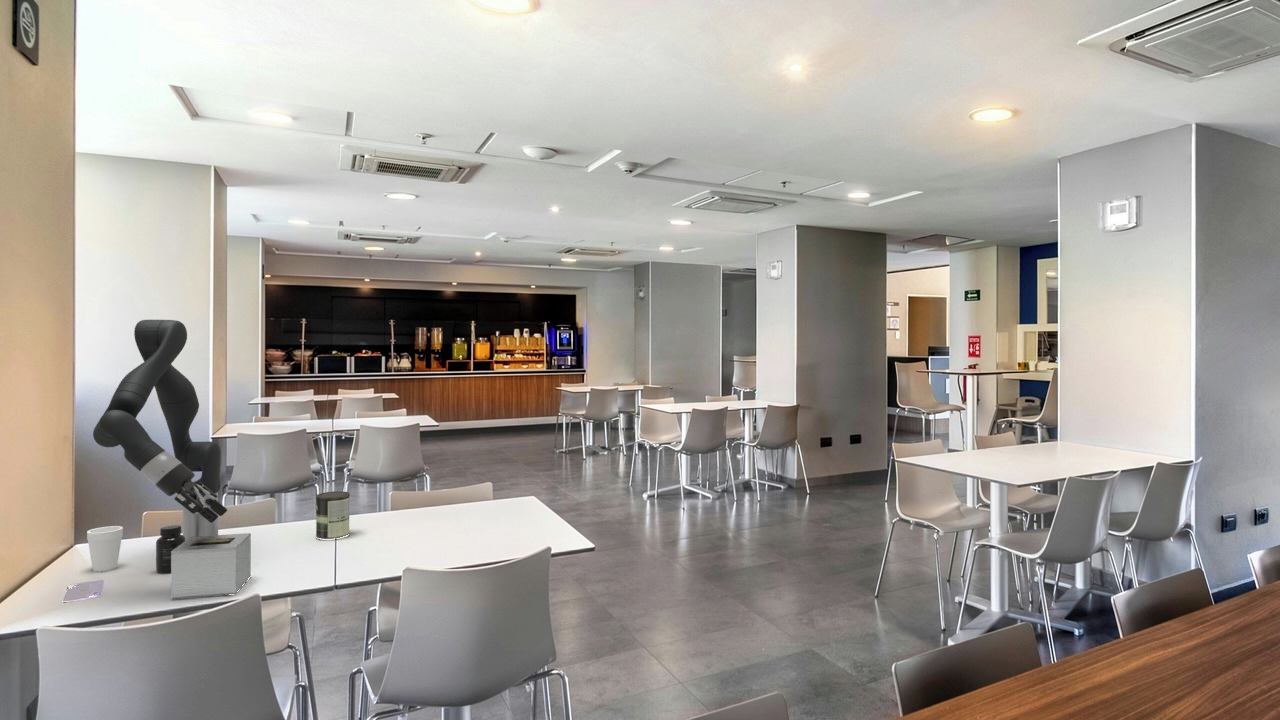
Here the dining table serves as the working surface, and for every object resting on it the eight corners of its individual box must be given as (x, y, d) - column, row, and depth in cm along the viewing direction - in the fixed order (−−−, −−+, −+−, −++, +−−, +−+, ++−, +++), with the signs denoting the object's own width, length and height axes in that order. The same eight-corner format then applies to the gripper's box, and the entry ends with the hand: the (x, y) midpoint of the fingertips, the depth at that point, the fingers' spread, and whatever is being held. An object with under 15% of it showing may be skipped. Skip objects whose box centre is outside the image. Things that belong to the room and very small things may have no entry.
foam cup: (107, 563, 195) (107, 525, 195) (129, 565, 193) (130, 527, 193) (79, 572, 187) (79, 532, 187) (102, 574, 185) (102, 534, 185)
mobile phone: (104, 578, 180) (101, 594, 168) (104, 582, 180) (101, 598, 168) (67, 584, 175) (61, 601, 163) (67, 587, 175) (61, 605, 163)
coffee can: (310, 541, 219) (311, 497, 219) (322, 533, 230) (322, 491, 229) (344, 540, 220) (344, 497, 220) (353, 532, 231) (354, 490, 231)
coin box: (191, 581, 179) (191, 536, 179) (250, 577, 183) (250, 533, 183) (171, 600, 166) (171, 551, 166) (235, 594, 170) (235, 547, 170)
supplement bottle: (191, 566, 192) (191, 524, 192) (172, 574, 186) (172, 530, 185) (169, 565, 193) (169, 523, 193) (149, 573, 186) (149, 529, 186)
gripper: (168, 466, 165) (223, 511, 169) (189, 458, 179) (239, 500, 183) (143, 489, 164) (198, 534, 167) (166, 479, 178) (217, 521, 181)
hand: (219, 516), depth 175 cm, fingers open, 7 cm apart
